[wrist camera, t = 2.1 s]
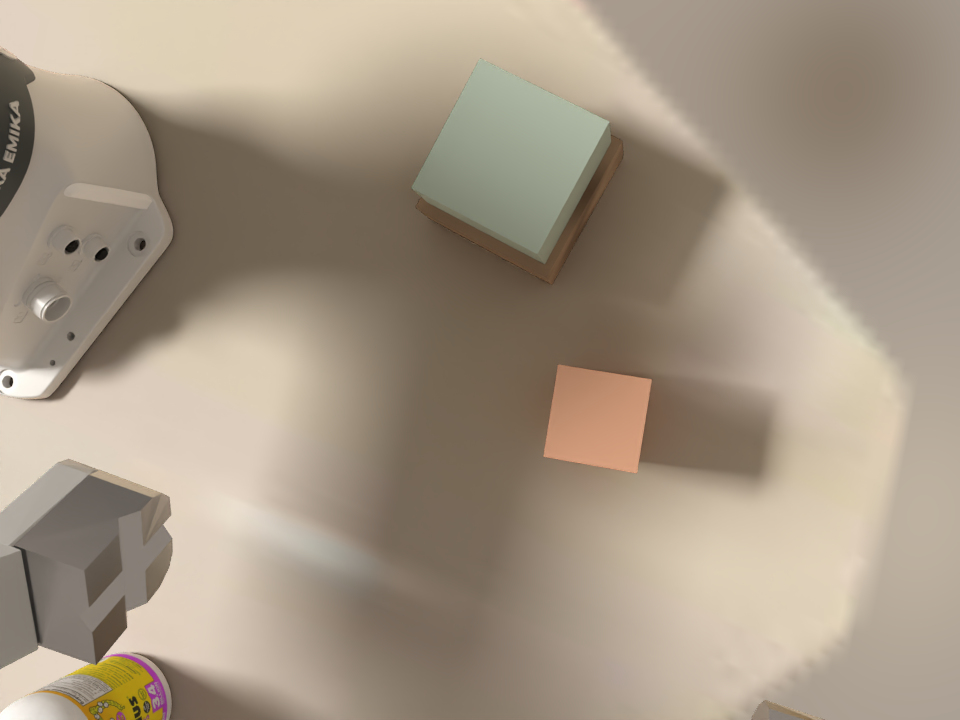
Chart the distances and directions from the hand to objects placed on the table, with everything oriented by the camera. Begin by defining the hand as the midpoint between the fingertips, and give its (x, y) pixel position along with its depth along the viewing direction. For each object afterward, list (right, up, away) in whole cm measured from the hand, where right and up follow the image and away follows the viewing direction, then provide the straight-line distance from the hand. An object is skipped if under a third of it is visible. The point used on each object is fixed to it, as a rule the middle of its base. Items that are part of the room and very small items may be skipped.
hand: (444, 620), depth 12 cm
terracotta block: (+8, 0, +43) cm, 44 cm away
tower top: (+3, +14, +40) cm, 43 cm away
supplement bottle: (-23, -19, +48) cm, 56 cm away
